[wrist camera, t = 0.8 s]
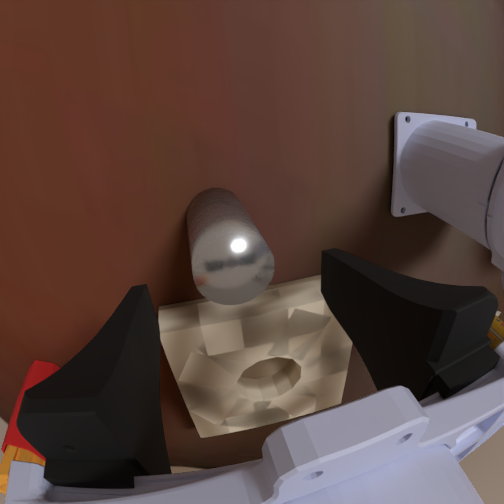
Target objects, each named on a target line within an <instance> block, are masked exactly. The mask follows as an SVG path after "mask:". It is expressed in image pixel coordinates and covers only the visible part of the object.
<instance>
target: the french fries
mask: <svg viewBox="0 0 504 504" xmlns="http://www.w3.org/2000/svg"><path fill="white" fill-rule="evenodd" d="M59 369H60V368H59V367H58V366H57V365H56V364H54V363H48V362H43V361H38V360H35V361H34V362H33V364H32V365H31V366H30V367H29V370H28V372H27V375H26V377H25V380H24V382H23V385H22V388H21V390H20V393H19V396H18V398H17V401H16V404H15V407H14V410H13V413H12V416H11V419H10V422H9V425H8V429H7V432H6V435H5V439H4V442H3V445H2V451H3V453H4V456H3V459H2V462H1V465H0V485H1V486H0V492H1V493H5V497H6V491H7V484H8V477H9V471H10V466H11V461H12V460H17V461H24V462H33V463H38V464H40V465H43V466H44V467H45V460H46V458H45V457H44V456H43V455H41V454H40V453H39V452H38V451H37V450H36V449H35V448H34V447H33V446H32V445H31V444H30V443H29V442H28V441H26V440H25V438H24V437H23V436H22V435H21V434H20V432H19V430H18V428H17V426H16V420H17V416H18V413H19V409H20V405H21V402H22V399H23V395H24V392H25V390H27V389H29V388H31V387H33V386H34V385H36V384H38V383H39V382H41V381H43V380H44V379H46V378H47V377H49V376H50V375H52V374H53V373H55V372H56V371H57V370H59Z"/></svg>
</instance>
